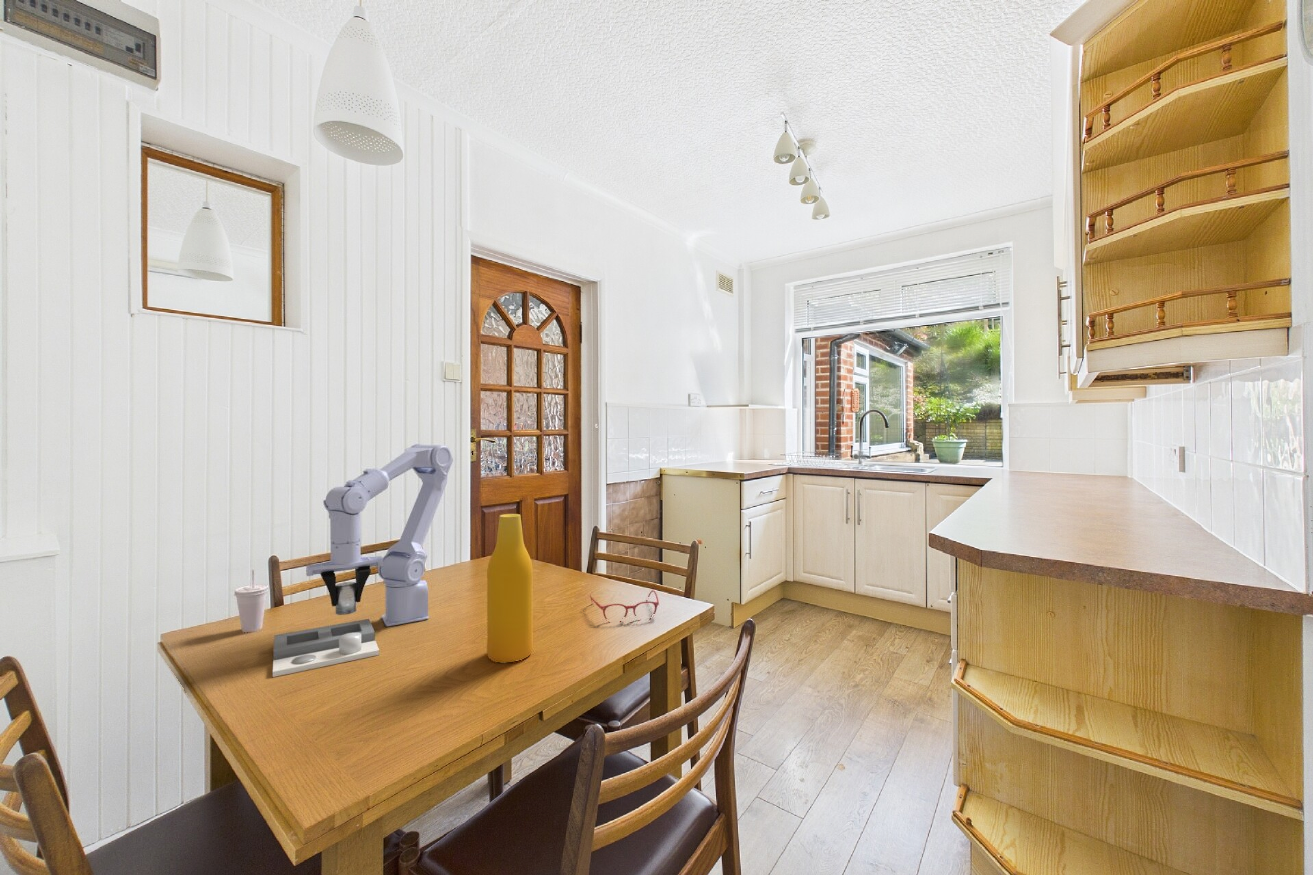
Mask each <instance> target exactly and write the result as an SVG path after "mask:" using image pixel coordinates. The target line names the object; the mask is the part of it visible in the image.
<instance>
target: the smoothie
mask: <svg viewBox="0 0 1313 875" xmlns="http://www.w3.org/2000/svg"><path fill="white" fill-rule="evenodd" d="M268 592H269V585H267V584H256V570H255V569H252V570H251V585H246V586H245V585H244V586H241V587H238V588H236V589H234V594H233V596H235V597H236V602H237V610H238V616H239V620H240V627H241V631H242V633H244V632H245V633H247V632H248V633H254V632H257V631H260V630H262V629H263V624H264V623H263V622H264V615H265V608H266V602H267V600H266V599H267V594H268Z"/></svg>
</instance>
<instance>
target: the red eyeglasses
mask: <svg viewBox="0 0 1313 875" xmlns="http://www.w3.org/2000/svg"><path fill="white" fill-rule="evenodd" d="M652 593H654V595H655V598H656V601H648V600H646V601H642V602H638V603H636V604H634V605H625V604H622V603H611V604H607V605H603V606H602V605H601V604H600V603H599V602H598V601H597V600H595V598H594V597H593V596H592V595H591V594H589V597H590V601H591V602H593V603H595V605H596V606H597V607H598V608H599V609H600V610H602V613H603V617H604V619H605V620H606V619H608V618H607V616H606V610H607V609H608V608H609V607H612V606H621V607H624V609H625V614H624V615H623V617H625V618H626V617H627V615H628V612H629V610H631V609H632V612H633V615H634V617H635V616H637V614H636V608H637V607H638V606H640V605H642V604H652V605H653V606H654V610H653V613H652V615H653V614H656V613H657V609H658V606H659V605H660V604H659V603H660V601H659V597H658V594H657V592H656V591H655V589H654V590H651V591H649V593H648V596H647V597H649V598H650V596H651V594H652Z"/></svg>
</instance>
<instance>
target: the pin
mask: <svg viewBox="0 0 1313 875" xmlns="http://www.w3.org/2000/svg"><path fill="white" fill-rule="evenodd" d="M335 592H336V606H334V607H335V611H334V612H335V613H334V614H335V615H337V616H344V615H350V614H354V613H356V612H357V602H356V581H355V582H354V581H347V582H341V583H336V590H335Z"/></svg>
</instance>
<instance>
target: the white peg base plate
mask: <svg viewBox="0 0 1313 875" xmlns="http://www.w3.org/2000/svg"><path fill="white" fill-rule="evenodd" d="M376 656H380V648H379V645H378V644H377V640H375V641H371V642H366V643H361V633H348V634H344V635H342V636H340V637H339V648H335V649H330V650H325V651H320V652H315V653H309V654H304V655H299V656H294V657H289V658H284V659H279V660H274V659H273V662H272V677H273V678H275V677H279V676H284V675H286V676H287V675H289V674H294V673H299V672H304V671H309V670H314V669H319V668H323V667H327V666H332V665H338V664H342V663H346V662H351V661H357V660H361V659H366V658H371V657H376Z"/></svg>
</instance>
